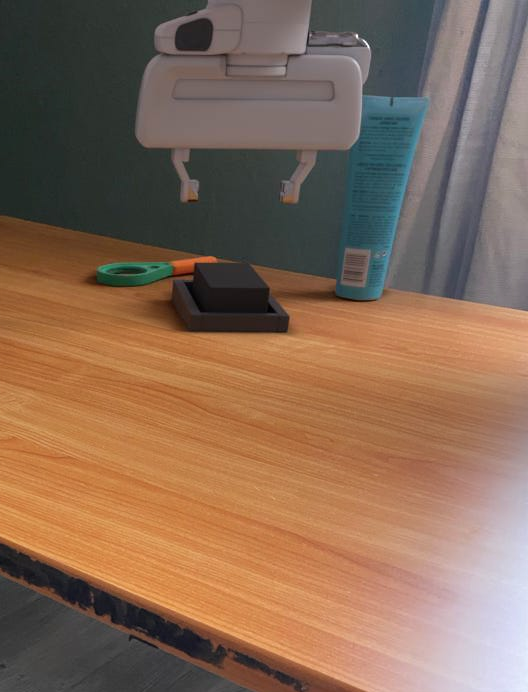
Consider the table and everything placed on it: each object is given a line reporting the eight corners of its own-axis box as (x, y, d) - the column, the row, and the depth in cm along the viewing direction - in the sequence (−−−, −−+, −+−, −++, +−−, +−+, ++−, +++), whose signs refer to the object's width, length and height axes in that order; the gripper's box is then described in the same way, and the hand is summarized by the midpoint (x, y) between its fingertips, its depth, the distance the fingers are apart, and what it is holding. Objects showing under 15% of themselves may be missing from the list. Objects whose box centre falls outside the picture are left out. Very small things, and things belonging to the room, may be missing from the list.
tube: (387, 292, 110) (424, 95, 100) (396, 302, 106) (435, 98, 96) (319, 289, 111) (349, 93, 100) (325, 300, 106) (357, 96, 96)
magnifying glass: (112, 288, 110) (113, 272, 109) (87, 277, 114) (87, 261, 113) (226, 276, 115) (228, 261, 114) (197, 266, 120) (199, 251, 119)
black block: (244, 298, 104) (248, 262, 102) (265, 326, 95) (270, 287, 93) (191, 298, 104) (194, 262, 102) (206, 326, 95) (210, 287, 93)
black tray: (257, 300, 106) (259, 280, 105) (286, 338, 94) (290, 315, 92) (171, 299, 106) (173, 279, 105) (189, 337, 93) (191, 314, 92)
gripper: (364, 31, 89) (339, 197, 97) (138, 28, 89) (129, 195, 96) (385, 32, 84) (356, 208, 91) (144, 29, 84) (135, 206, 91)
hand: (238, 202), depth 94 cm, fingers open, 8 cm apart
